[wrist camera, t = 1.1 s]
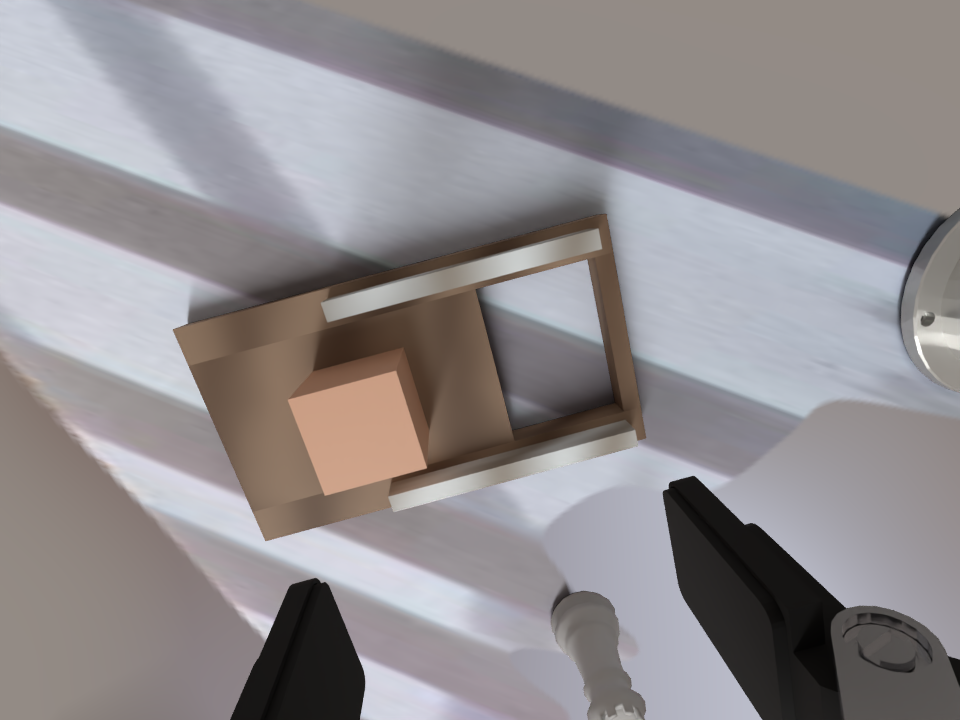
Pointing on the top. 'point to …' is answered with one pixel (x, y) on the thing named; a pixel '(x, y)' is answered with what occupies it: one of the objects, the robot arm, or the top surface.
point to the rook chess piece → (596, 655)
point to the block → (362, 421)
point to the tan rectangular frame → (434, 366)
